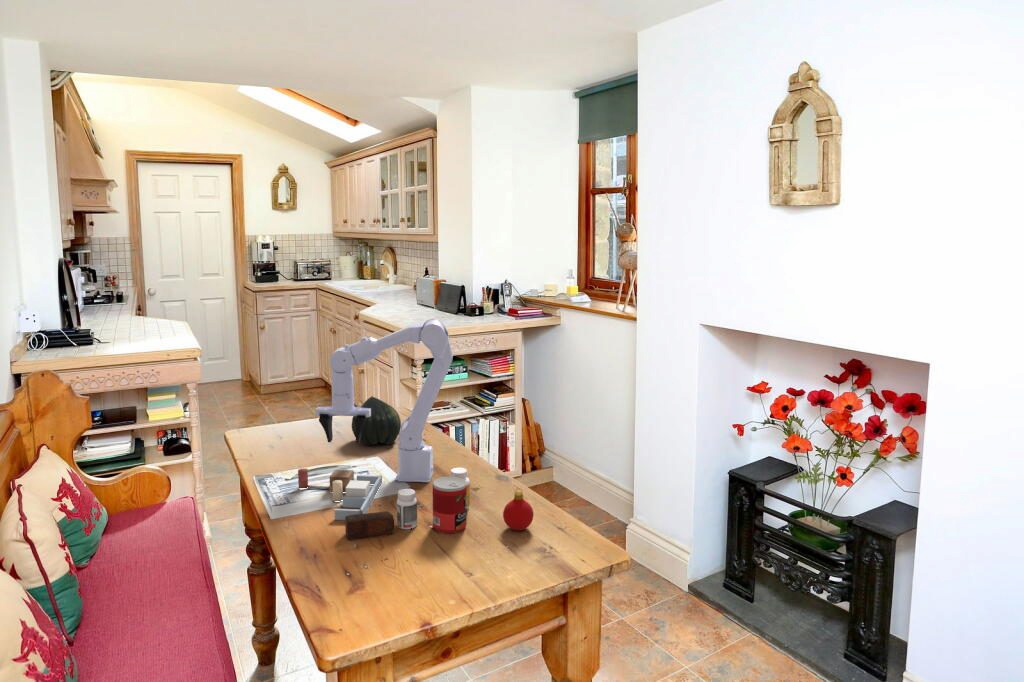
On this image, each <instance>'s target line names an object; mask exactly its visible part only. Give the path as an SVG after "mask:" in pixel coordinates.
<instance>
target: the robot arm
mask: <svg viewBox="0 0 1024 682" xmlns="http://www.w3.org/2000/svg"><path fill="white" fill-rule="evenodd" d="M409 342H410V343H414V344H418V345H420V344H421V343H420V342H422V344H423V345H424V346H425V347H426V348H427V349H428V350H429V351H430V353H431V355H432V358H433V361H432V364H431V366H430V368H429V370H428V372H427V375H426V378H425V380H424V382H423V384H422V387H421V389H420V391H419V393H418V396H417V398H416V401H415V402H414V406H413V408H412V410H411V411H410V414H409V415H408V417H407V418H406V419H404V420H403V422H401V428H400V432H399V435H398V442H399V443H398V444H397V446H398V447H397V451H398V452H397V453H398V454H397V455H398V456H397V457H398V463H397V464H398V472H397V475H396V477H395V478H394V481H395V480H398V481H397V482H404V483H405V482H407V483H408V482H409V483H410V482H413V483H414V482H415V483H430V482H431V479H432V478H433V477H432V476H433V474H434V448H433V446H431V445H430V446H429V445H426V443H425V441H424V440H423V434H424V429H425V427H426V426H425V425H426V423H427V419H428V417H429V415H430V413H431V411H432V408H433V406H434V404H435V402H436V400H437V397H438V395H439V391H440V390H441V387H442V386H443V382H444V381H445V378H446V377H447V373H448V372H449V369H450V367H451V365H452V362H453V358H454V356H453V350H452V345H451V341H450V335H449V331H448V330H447V328H446V326H445V324H444V323H443V321H441V320H439V319H437V318H429V319H428V320H426V321H425V322H424V321H419V322H416V323H413V324H411V325H408V326H406V327H403V328H401V329H398V330H397V331H394V332H392V333H390V334H387V335H385V336H382V337H380V338H378V339H377V338H374V337H372V336H370V337H368V338H367V336H364V337H361V338H360V341H357V342H355V343H352V344H349V343H347V344H344V347H338V348H336V349H335V350H334V351H333V352H332V353H331V355H330V358H329V367H330V368H331V371H330V372H331V379H330V380H331V406H318V407H316V408H315V416H316V417H319V418H318V422H319V424H320V425H321V427H322V429H323V430H324V433H325V436H326V439H327V442H328V443H331V442H332V441H333V417H334V416H340V417H353V416H357V418H356V419H355V427H356V437H355V443H356V444H359V443H361V442H360V439H361V433H362V430H363V427H364V424H365V422H366V419H367V417H370V416H371V408H361V406H355V395H354V394H355V392H354V391H355V390H354V373H353V366H360V365H361V364H364V363H367V362H369V361H371V360H374V359H376V358H377V359H378V358H379V357H380V355H381V352H383V351H384V350H385V351H386V350H387V349H391V348H394V347H397V346H399V345H401V344H405V343H409Z"/></svg>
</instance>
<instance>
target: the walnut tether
mask: <svg viewBox="0 0 1024 682" xmlns="http://www.w3.org/2000/svg"><path fill="white" fill-rule="evenodd" d="M308 474H309V473H308V469H307V468H299V469H297V477H298V479H297V480H298V489H299V488H307V487H308V489H314V488H328V489H327V490H329V493H330V492H333V484H332V482H333V481H335V480H341V481H342V492H346V489H345V488H346V486H347V485H348V483H349V482H350V480H355V472H354V469H334V470H333V472H332V473H331V474H330V476H329V486H328V485H309V477H308V476H309V475H308Z"/></svg>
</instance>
